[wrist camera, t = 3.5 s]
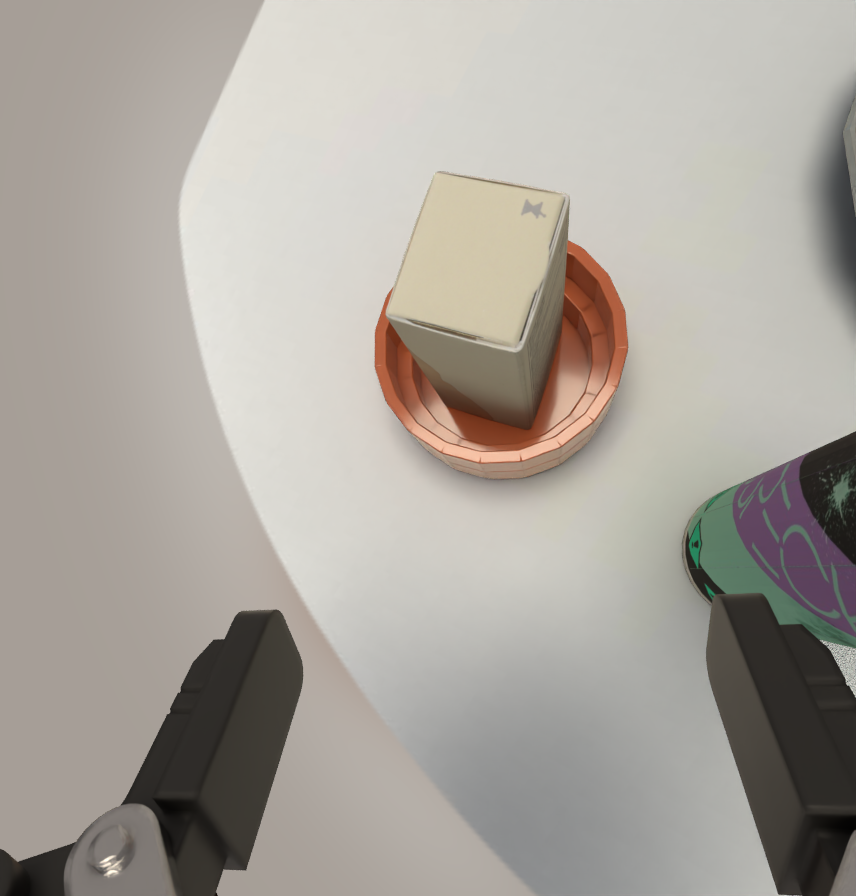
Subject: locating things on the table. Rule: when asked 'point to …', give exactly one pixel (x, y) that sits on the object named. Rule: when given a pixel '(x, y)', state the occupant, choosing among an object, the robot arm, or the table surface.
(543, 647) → the table surface
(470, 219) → the box
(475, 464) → the bowl
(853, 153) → the pie
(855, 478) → the spray can
